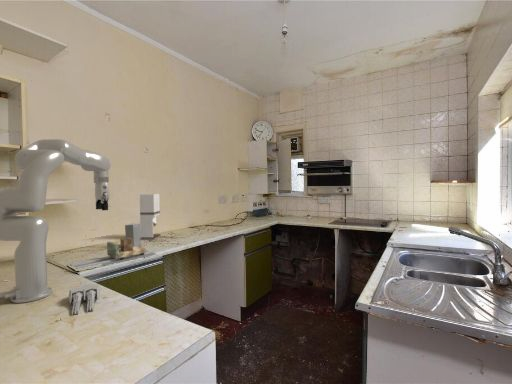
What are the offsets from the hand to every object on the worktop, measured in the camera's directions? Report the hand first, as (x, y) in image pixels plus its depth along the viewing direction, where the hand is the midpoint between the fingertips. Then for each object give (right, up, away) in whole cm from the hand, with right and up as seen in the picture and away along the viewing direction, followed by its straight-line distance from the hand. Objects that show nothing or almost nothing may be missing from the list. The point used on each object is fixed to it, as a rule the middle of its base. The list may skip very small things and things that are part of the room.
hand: (101, 209), depth 155 cm
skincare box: (+6, -28, +27) cm, 39 cm away
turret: (+26, -31, -56) cm, 70 cm away
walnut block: (+13, -24, +2) cm, 28 cm away
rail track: (+9, -29, -3) cm, 30 cm away
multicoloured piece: (+14, -28, +3) cm, 32 cm away
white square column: (+7, -26, +54) cm, 60 cm away
